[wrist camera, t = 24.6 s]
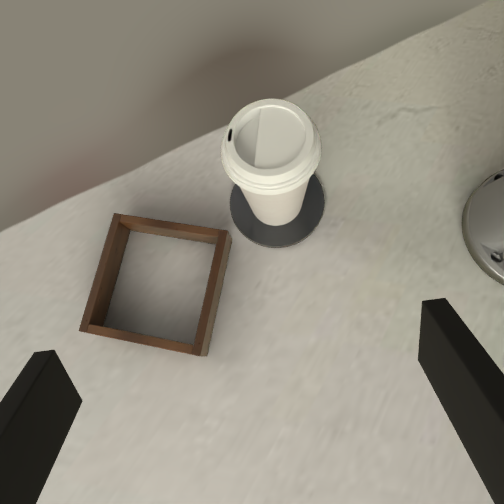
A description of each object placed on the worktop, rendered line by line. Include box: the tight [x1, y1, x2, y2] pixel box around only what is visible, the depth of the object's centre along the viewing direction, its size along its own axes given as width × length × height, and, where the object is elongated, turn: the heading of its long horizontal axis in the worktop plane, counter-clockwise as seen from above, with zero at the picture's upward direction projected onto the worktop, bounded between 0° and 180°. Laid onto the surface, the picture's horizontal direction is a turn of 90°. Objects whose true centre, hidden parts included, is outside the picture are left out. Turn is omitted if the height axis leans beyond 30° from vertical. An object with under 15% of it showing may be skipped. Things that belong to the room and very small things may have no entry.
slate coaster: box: [230, 174, 324, 248], centre depth 49 cm, size 12×12×1 cm
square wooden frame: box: [79, 213, 232, 356], centre depth 46 cm, size 15×15×4 cm
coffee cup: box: [221, 99, 322, 226], centre depth 41 cm, size 10×10×15 cm
